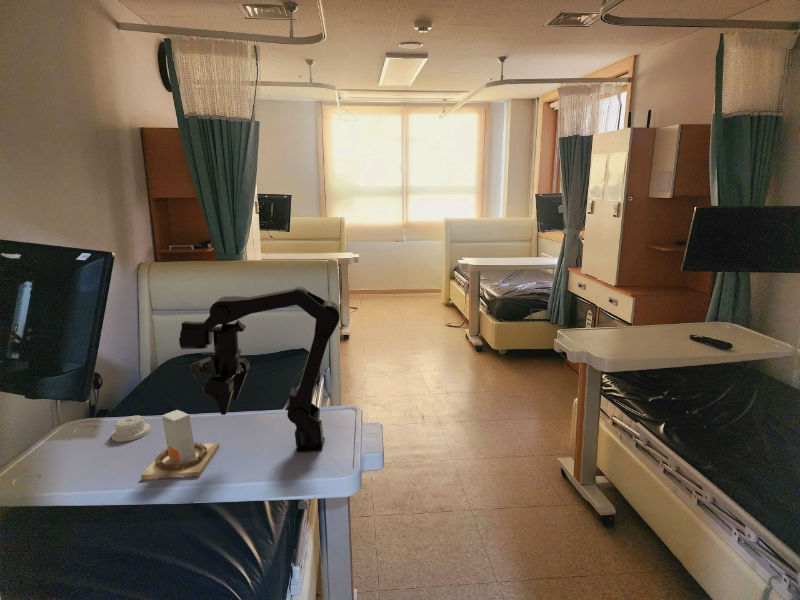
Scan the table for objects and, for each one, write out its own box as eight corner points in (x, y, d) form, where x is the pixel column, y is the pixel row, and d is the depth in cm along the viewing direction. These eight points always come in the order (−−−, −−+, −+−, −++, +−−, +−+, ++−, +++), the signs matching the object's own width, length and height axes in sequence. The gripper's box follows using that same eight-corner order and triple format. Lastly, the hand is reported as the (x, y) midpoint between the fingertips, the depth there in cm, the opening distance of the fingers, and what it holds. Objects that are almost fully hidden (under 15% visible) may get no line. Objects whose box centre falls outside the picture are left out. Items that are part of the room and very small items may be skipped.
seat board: (219, 447, 133) (218, 439, 133) (199, 476, 120) (198, 467, 119) (167, 450, 133) (166, 442, 133) (141, 479, 119) (140, 470, 119)
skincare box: (168, 458, 126) (161, 415, 124) (184, 451, 130) (177, 408, 127) (181, 465, 123) (173, 420, 120) (197, 458, 126) (190, 414, 123)
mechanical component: (103, 442, 141) (134, 443, 139) (101, 427, 140) (131, 429, 138) (129, 425, 150) (158, 427, 148) (126, 412, 149) (155, 413, 147)
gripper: (206, 337, 132) (210, 392, 135) (178, 359, 114) (182, 422, 117) (248, 337, 133) (251, 392, 136) (227, 360, 114) (230, 423, 117)
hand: (229, 406), depth 126 cm, fingers open, 9 cm apart
